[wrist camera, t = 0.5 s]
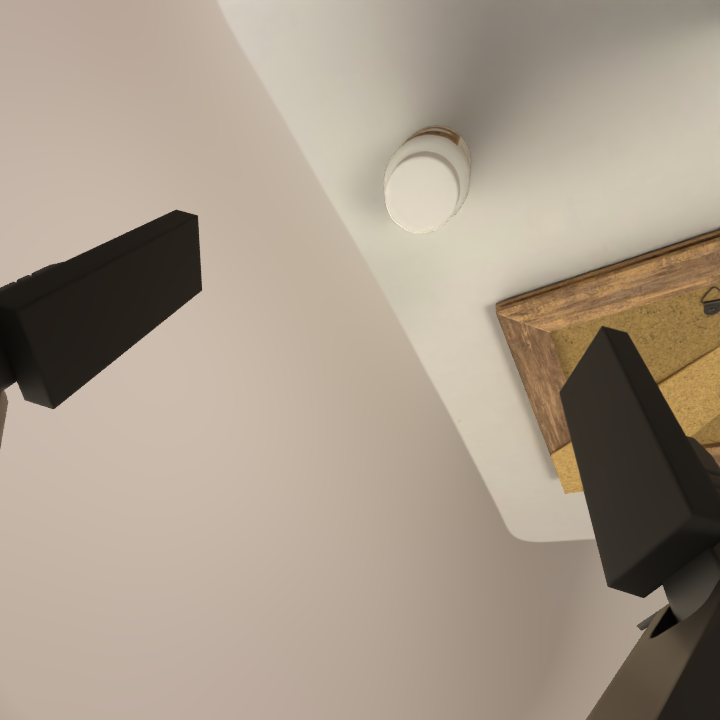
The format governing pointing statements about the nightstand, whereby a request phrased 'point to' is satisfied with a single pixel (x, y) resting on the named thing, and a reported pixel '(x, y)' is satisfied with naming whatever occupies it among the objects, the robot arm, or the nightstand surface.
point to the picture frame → (646, 329)
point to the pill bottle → (427, 179)
